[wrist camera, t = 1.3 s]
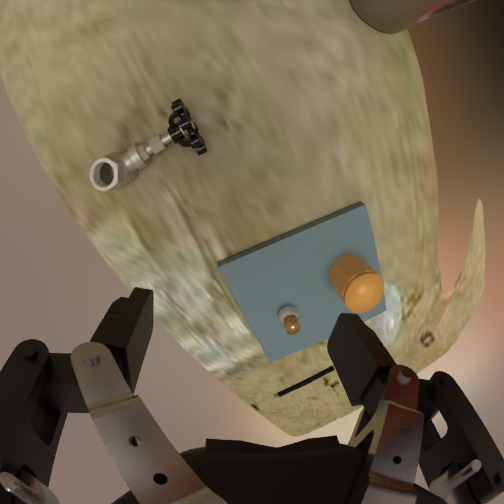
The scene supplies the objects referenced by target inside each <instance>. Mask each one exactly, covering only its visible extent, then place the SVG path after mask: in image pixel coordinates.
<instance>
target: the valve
mask: <svg viewBox="0 0 504 504" xmlns="http://www.w3.org/2000/svg"><path fill="white" fill-rule="evenodd" d="M184 107H185V106H184V104H183V102H182V100H181V99H180V98H179V99H177V100H176V101H174V102H172V106H171V108H172V110H173V113H172V114H171V115H170V117H169V126H170V127H169V128H168V133H167V134H165V135H164V136H161V135H160V134H159V135H157V136H155V137H153V138H152V139H150V140H148V143H149V144H147V145H145V144H142V145H140V144H139V143H134V144H132V145H131V146H129V147H128V148H127V152H125V153H119V152H115V153H111V154H108V155H104V156H103V157H101V158H100V159H98V160H97V161H95V162H94V163H93V164H92V165H91V166H90V185H92V186H93V187H94V188H96V189H97V190H99V191H101V192H103V193H106V192H108V191H110V190H119V189H122V188H123V187H125V186H126V185H127V184H128V183H129V182H130V181H131V180H132V179H134V178H135V177H137V176H138V169H139V170H142V169H143V168H145V167H146V166H148V165H149V160H148V159H149V158H151V154H152V153H154V154H157V153H159V152H161V151H162V150H164V149H166V148H167V145H166V144H168V143H169V142H171V141H174V143H176V144H177V143H179V144H180V145H181V146H183V147H189V146H191V147H192V148H193V149H195V148H196V147H197V148H200V149H198V150H196V152H197V153H198V155H201V154H203V153H205V152H207V148H206V146H205V142H204V140H203V138H202V137H201V136H200V135H199V133H198V130H199V129H198V127H197V125H196V124H195V122H193V121H192V119H191V117H190V113H189V111H188V109H187V108H186V107H185V108H184ZM178 116H180V118H181V120H180V121H178V122H177V123H176V124H175V123H174V119H175V118H176V117H178ZM188 135H189V136H190V137H191V139H189V140H187V141H184V139H186V138H188Z"/></svg>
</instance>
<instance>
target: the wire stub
mask: <svg viewBox="0 0 504 504" xmlns="http://www.w3.org/2000/svg"><path fill="white" fill-rule="evenodd" d="M278 316H279V320H280V323H281V325H282V326H283V327H285V329H286V332H287V333H288V334H290V335H294V334H297V333H298V332H299V331H300V325H299V323H298V322H299V320H300V317H299V314H298V312H297V310H296V307H295V306H294V305H292V304H284V305H282V306H281V307H280V308H279V309H278Z"/></svg>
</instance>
